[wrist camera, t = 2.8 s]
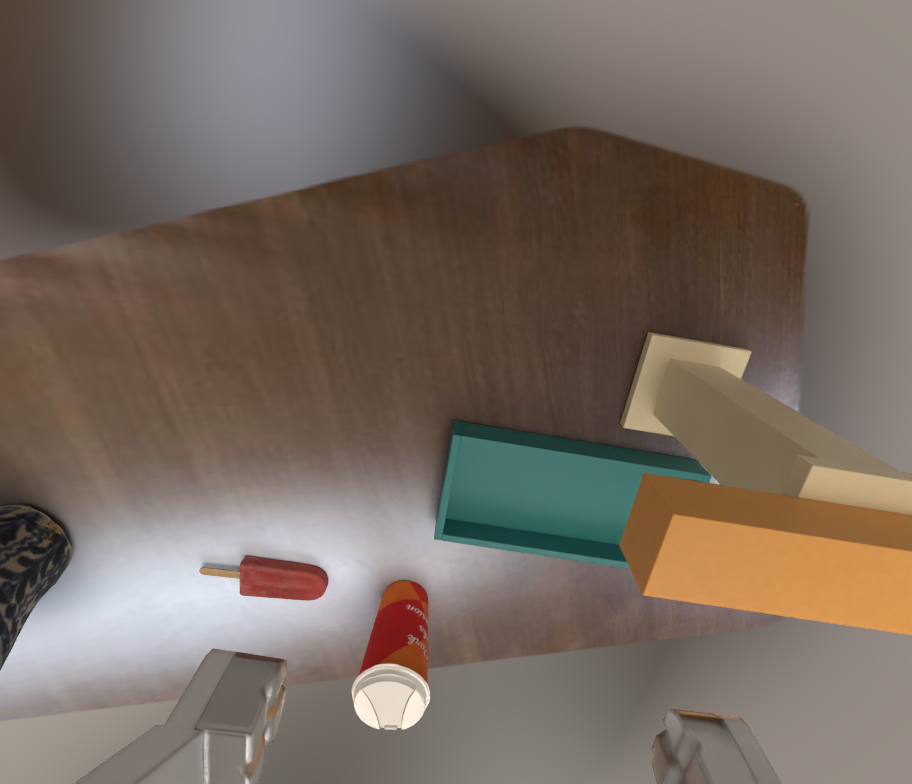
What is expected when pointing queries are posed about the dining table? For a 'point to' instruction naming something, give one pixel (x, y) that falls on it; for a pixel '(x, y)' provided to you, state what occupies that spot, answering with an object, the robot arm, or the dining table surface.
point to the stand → (751, 429)
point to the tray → (545, 492)
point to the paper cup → (395, 661)
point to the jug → (26, 566)
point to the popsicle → (276, 579)
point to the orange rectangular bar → (771, 553)
